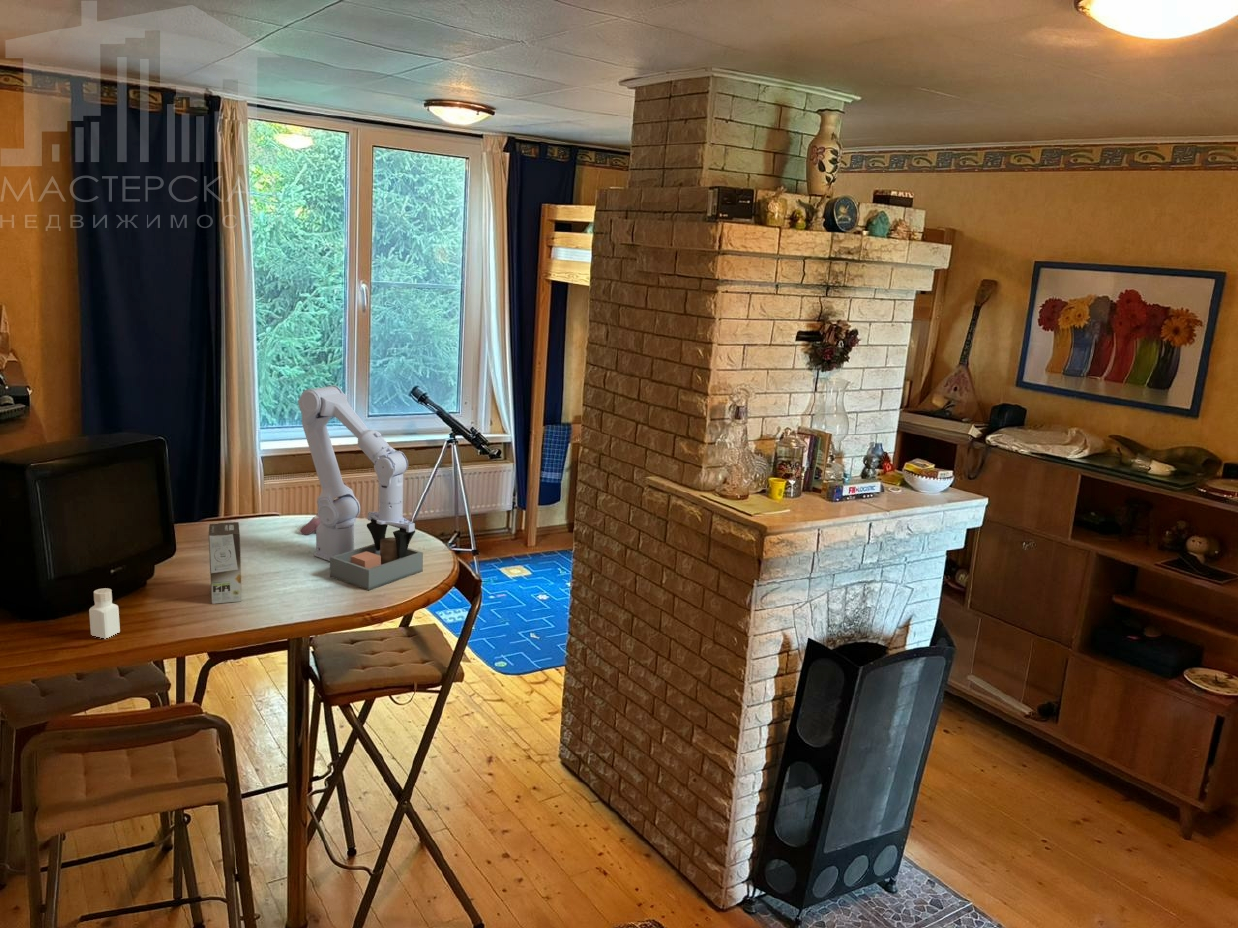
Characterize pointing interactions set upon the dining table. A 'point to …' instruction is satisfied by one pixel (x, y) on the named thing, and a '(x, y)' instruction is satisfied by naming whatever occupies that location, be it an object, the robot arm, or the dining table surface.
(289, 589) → the dining table surface
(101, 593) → the white pill bottle
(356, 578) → the tote
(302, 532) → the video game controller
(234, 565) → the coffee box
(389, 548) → the cylinder
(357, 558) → the cube
